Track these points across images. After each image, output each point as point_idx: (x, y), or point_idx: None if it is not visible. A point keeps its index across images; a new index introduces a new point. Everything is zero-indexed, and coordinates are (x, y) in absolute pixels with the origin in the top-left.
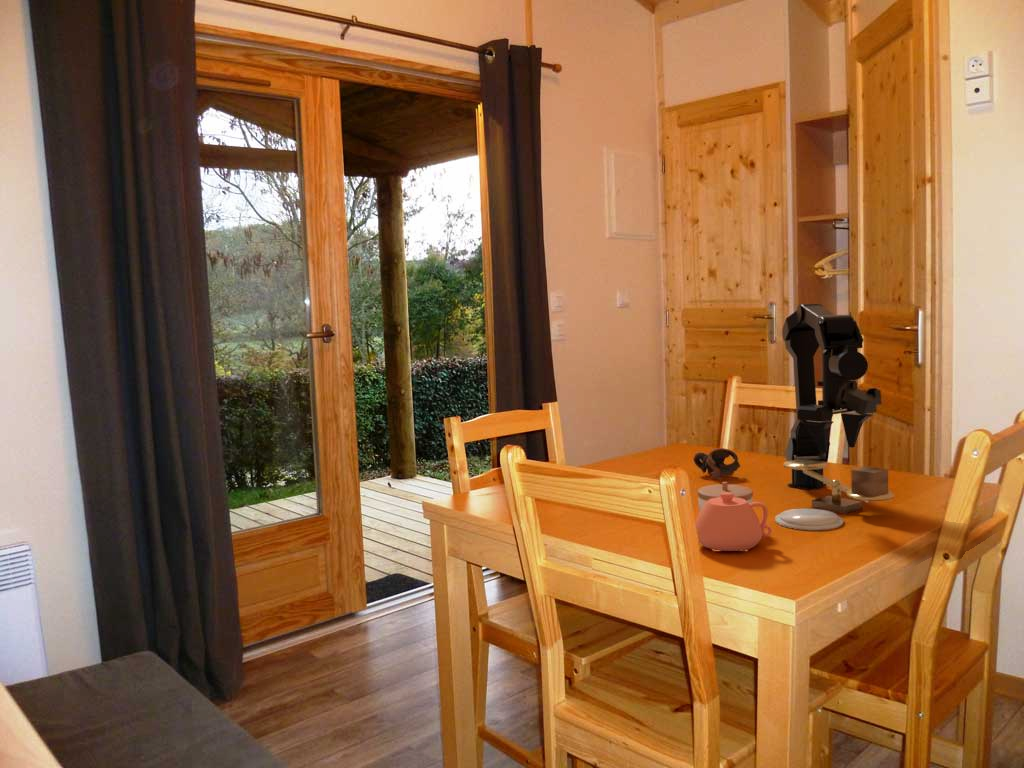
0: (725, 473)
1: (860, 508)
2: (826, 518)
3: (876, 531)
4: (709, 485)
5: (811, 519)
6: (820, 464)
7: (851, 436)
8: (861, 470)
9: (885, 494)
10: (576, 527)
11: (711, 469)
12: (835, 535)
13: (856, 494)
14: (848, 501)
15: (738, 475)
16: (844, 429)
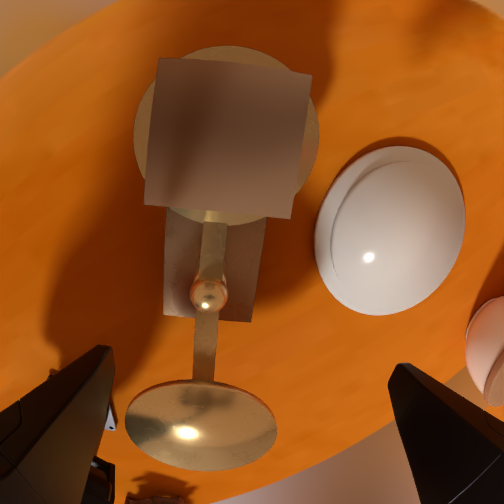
0: (170, 500)
1: None
2: (412, 185)
3: (384, 50)
4: (500, 404)
5: (435, 213)
6: (171, 404)
7: (88, 414)
8: (282, 160)
9: None
10: (499, 419)
11: None
12: (462, 126)
13: None
14: (192, 233)
15: (126, 488)
16: (84, 486)
